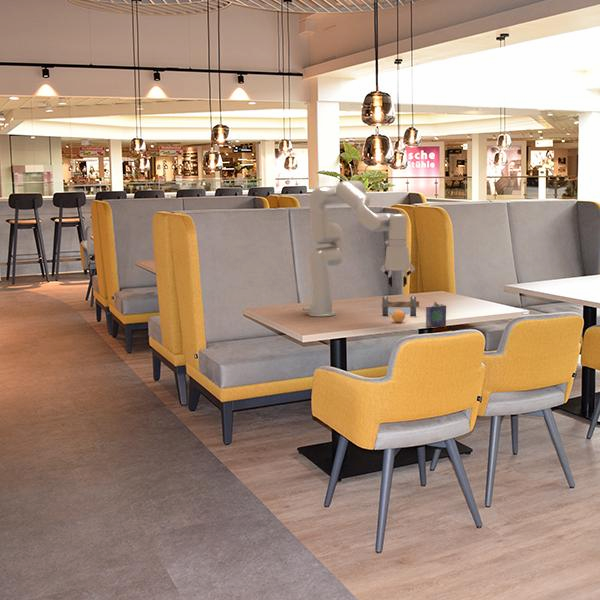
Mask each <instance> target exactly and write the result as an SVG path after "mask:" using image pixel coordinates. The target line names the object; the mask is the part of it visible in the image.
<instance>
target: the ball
mask: <svg viewBox="0 0 600 600" xmlns="http://www.w3.org/2000/svg"><path fill="white" fill-rule="evenodd" d="M405 317H406V314H404V312H403V311H401V310H395V311H394V312H393V314H391V318H392V321H393V322H395V323H398V322H399V323H402V322H403V321H404V320H405Z"/></svg>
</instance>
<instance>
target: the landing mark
mask: <svg viewBox="0 0 600 600" xmlns="http://www.w3.org/2000/svg"><path fill="white" fill-rule="evenodd" d="M395 310H401V311H403V312H404V313H410V308H402V307H388V313H393V312H394V311H395Z"/></svg>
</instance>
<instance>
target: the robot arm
mask: <svg viewBox="0 0 600 600" xmlns="http://www.w3.org/2000/svg"><path fill="white" fill-rule="evenodd" d="M308 198H309V199H308V203H309V210H310V229H311V230H310V231H311V232H310V234H311V240H312V242H313V244H316V245H327V246H319V247H315V248H313V249H312V250H311V251H309V254H308V264H309V268H310V278H311V279H310V282H311V283H310V284H311V288H310V289H311V305H309V306H307V305H306V306H305V305H302V311H308V316H311V317H318V318H319V317H320V318H321V317H333V316H335V315H336V311H334V310H333V293H332V291H333V288H332V287H333V285H332V283H333V282H332V273H331V272H330V270H329V268H331V267H337V266H340V265H341V264H342V262H343V260H344V232H343V230H342V227H341V225H339V224H338V223H335V222H330V213H329V210H328V208H327V206H335V205H345V204H346V205H348V206H349V207H350V208H351V209H352V210H353V211H354V212H355V217H356V220H357V221H358V222H359V223H360V224H361V225H362V226H364V228H366V229H367V230H369V231H371V232H375V233H377V232H388V239H387V240H385V242H384V243H385V245H387V247H386V250H385V262H384V264H383V265H382V266H381V267H380V271H381V272H382V273H384V274H385V275H386V276H387V277H388V285H389V287H390V288H392V287H393V276H392V272H395V271H396V272H397V271H399V272H401V271H402V272H403V277H402V278H403V282H402V283H403V284H402V285H403V287H404V288H405V287H406V285H408V280H407V279H408V277H409V275H410V274H412V273H413V272H414V271H415V270H416V268H415V266H414V265H413V264H412V263H411V261H410V259H411V256H410V249H409V246H408V245H407V243H408V241H407V239H408V238H407V234H408V233H407V232H408V231H407V230H408V229H407V226H408V225H407V223H408V222H407V215H406V213H405V214H404V213H390V212H383V213H382V212H381V213H380V212H379V213H374V212H372V211H371V210H370V208H369V206H370V205H371V198H370V197H369V195H368V194H367V190H366V186H365V184H364V183H363V182H362V181H360V180H357V179H356V180H354V179H353V180H343V181H340V182H338V183H337V184H336V185H324V186H319V187H316V188H314V189H313V190H312V191H311V192H310V195H309V197H308Z"/></svg>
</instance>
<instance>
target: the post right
mask: <svg viewBox="0 0 600 600" xmlns="http://www.w3.org/2000/svg"><path fill="white" fill-rule="evenodd" d="M409 298H410V300H409V301H410V307H409V309H410V314H409V315H410V316H409V317H411V316H416V317H417V307H416V301H417V296H410V297H409Z"/></svg>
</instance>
